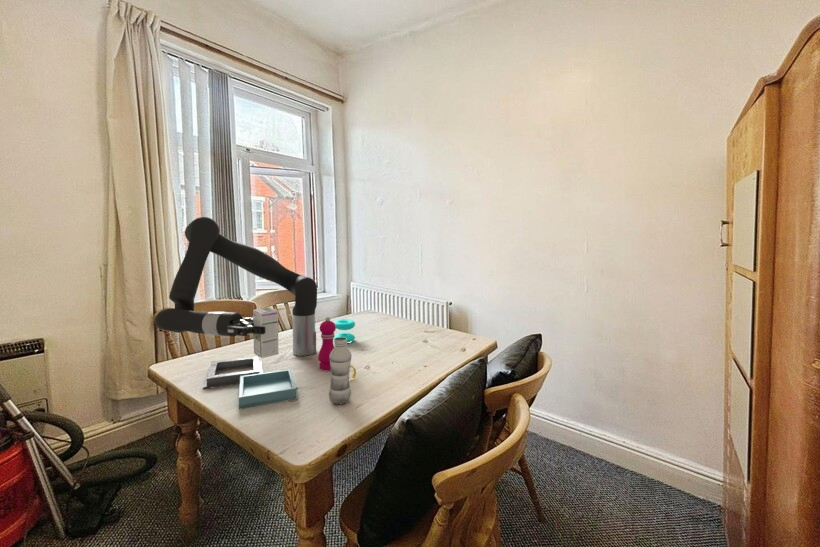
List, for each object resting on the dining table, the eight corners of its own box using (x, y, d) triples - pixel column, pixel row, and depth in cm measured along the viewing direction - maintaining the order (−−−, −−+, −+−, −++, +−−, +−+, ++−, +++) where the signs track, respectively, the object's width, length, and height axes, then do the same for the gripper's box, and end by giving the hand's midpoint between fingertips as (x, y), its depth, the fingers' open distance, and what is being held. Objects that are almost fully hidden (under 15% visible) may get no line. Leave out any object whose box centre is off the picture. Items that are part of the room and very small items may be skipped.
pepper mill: (320, 372, 124) (320, 320, 122) (316, 365, 130) (316, 315, 128) (339, 369, 127) (339, 318, 125) (334, 362, 133) (334, 314, 131)
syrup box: (279, 354, 106) (279, 309, 105) (260, 358, 102) (260, 312, 100) (271, 349, 110) (270, 306, 109) (252, 353, 106) (252, 309, 104)
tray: (291, 378, 118) (290, 369, 118) (296, 398, 104) (296, 388, 103) (240, 386, 111) (240, 376, 111) (239, 408, 97) (238, 397, 97)
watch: (353, 378, 120) (354, 362, 120) (356, 381, 118) (357, 365, 118) (337, 380, 117) (338, 364, 117) (339, 383, 115) (341, 366, 115)
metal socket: (261, 362, 132) (261, 354, 132) (263, 380, 116) (263, 372, 116) (209, 368, 124) (208, 361, 124) (202, 389, 108) (202, 380, 108)
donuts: (336, 318, 165) (356, 319, 164) (336, 338, 166) (356, 338, 166) (331, 323, 155) (353, 324, 154) (331, 344, 156) (352, 345, 156)
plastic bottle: (330, 396, 106) (330, 335, 103) (352, 396, 106) (352, 335, 104) (327, 407, 99) (327, 342, 97) (350, 406, 100) (350, 342, 98)
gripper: (207, 317, 99) (259, 320, 97) (235, 307, 113) (282, 310, 112) (207, 342, 99) (260, 345, 98) (236, 329, 114) (282, 332, 112)
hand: (271, 326), depth 105 cm, fingers closed on syrup box, 8 cm apart
